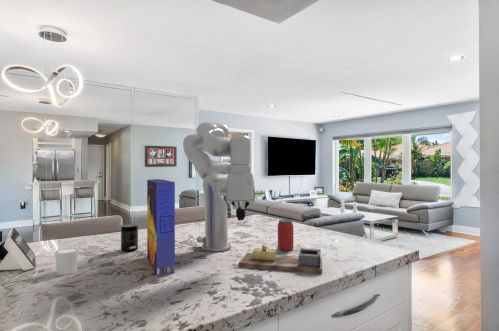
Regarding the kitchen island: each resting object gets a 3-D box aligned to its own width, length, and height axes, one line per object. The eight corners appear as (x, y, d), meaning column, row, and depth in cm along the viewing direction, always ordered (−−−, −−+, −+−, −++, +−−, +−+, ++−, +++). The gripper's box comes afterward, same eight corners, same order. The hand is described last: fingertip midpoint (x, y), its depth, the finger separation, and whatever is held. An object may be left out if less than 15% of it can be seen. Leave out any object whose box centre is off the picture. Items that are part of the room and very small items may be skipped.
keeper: (298, 265, 99) (298, 255, 99) (300, 257, 107) (300, 248, 107) (320, 267, 97) (320, 256, 97) (320, 259, 106) (320, 249, 106)
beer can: (293, 251, 121) (292, 222, 121) (276, 250, 122) (276, 221, 122) (293, 247, 127) (293, 219, 127) (278, 246, 128) (278, 218, 128)
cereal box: (147, 257, 114) (147, 179, 114) (163, 255, 116) (163, 178, 117) (156, 275, 94) (155, 181, 94) (174, 272, 97) (174, 181, 97)
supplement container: (132, 247, 128) (132, 223, 128) (141, 250, 124) (141, 225, 124) (117, 250, 123) (117, 225, 123) (125, 253, 119) (125, 227, 119)
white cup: (61, 277, 93) (61, 254, 93) (50, 273, 97) (50, 251, 97) (83, 270, 99) (83, 249, 99) (72, 267, 103) (72, 246, 103)
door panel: (238, 266, 102) (238, 262, 102) (247, 256, 114) (247, 252, 114) (321, 273, 96) (321, 268, 96) (322, 262, 107) (322, 257, 107)
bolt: (252, 259, 105) (252, 246, 105) (255, 256, 109) (255, 243, 109) (274, 260, 103) (274, 247, 103) (276, 257, 107) (276, 244, 107)
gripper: (217, 169, 107) (218, 220, 106) (258, 169, 103) (258, 222, 103) (224, 169, 114) (224, 217, 114) (262, 169, 110) (263, 218, 110)
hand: (240, 219), depth 108 cm, fingers closed
